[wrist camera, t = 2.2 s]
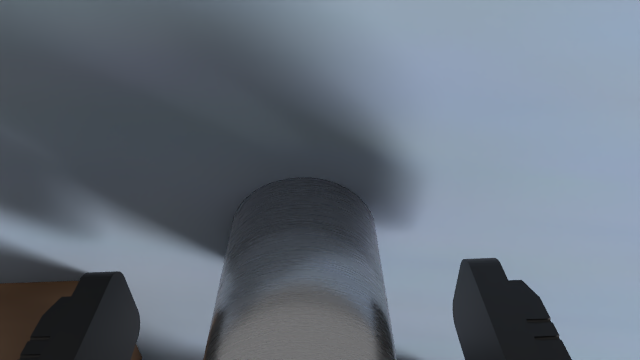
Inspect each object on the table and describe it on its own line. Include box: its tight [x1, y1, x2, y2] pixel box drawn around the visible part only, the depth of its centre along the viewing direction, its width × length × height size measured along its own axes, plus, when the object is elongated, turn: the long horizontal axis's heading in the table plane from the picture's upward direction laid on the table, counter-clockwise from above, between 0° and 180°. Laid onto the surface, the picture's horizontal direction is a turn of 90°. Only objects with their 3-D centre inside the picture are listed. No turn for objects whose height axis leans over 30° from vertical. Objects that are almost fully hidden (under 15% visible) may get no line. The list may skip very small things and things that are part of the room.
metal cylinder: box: [203, 178, 397, 360], centre depth 11 cm, size 4×4×6 cm
